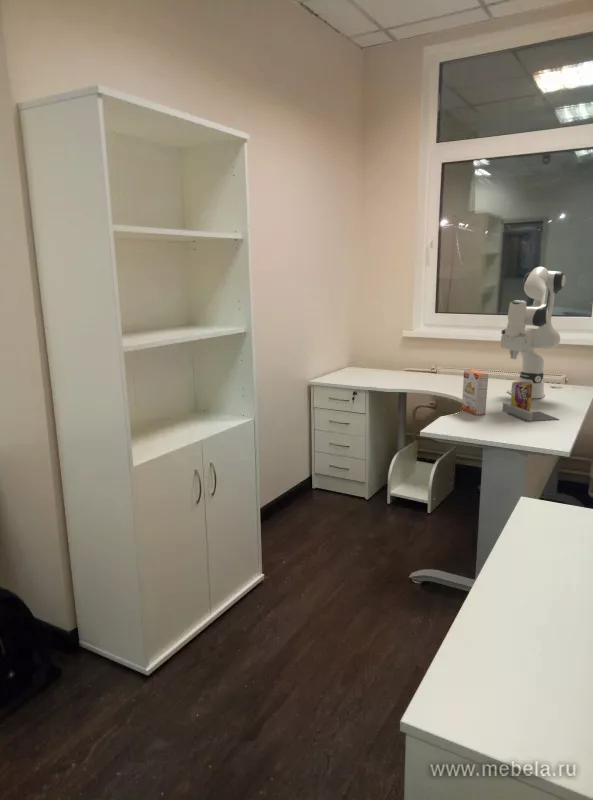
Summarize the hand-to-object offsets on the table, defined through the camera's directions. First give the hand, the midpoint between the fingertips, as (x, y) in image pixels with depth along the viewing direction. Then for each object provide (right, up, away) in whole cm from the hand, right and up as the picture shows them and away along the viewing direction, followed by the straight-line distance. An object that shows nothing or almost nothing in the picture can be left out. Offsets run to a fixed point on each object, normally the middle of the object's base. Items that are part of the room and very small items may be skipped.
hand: (513, 358), depth 296 cm
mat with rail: (+4, -29, -12) cm, 32 cm away
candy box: (+2, -28, -4) cm, 28 cm away
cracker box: (-22, -28, -5) cm, 36 cm away
